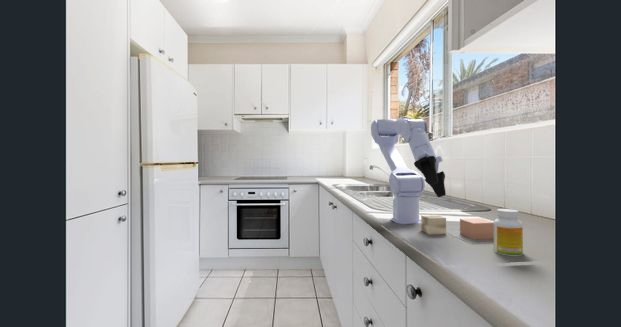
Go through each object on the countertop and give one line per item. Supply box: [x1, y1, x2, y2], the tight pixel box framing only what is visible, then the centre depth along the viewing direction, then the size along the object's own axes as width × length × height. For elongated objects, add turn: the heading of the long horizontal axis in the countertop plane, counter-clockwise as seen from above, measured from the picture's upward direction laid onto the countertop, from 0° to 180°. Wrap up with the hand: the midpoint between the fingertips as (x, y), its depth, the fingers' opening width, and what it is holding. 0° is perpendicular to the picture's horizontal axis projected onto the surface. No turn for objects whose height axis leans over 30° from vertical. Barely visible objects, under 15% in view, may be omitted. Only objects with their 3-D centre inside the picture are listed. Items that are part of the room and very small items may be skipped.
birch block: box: [420, 214, 447, 235], centre depth 88 cm, size 5×5×5 cm
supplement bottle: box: [493, 208, 524, 257], centre depth 69 cm, size 5×5×10 cm
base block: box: [459, 217, 494, 239], centre depth 83 cm, size 6×6×4 cm
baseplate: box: [446, 229, 494, 245], centre depth 83 cm, size 14×12×1 cm
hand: (438, 190), depth 85 cm, fingers open, 7 cm apart
